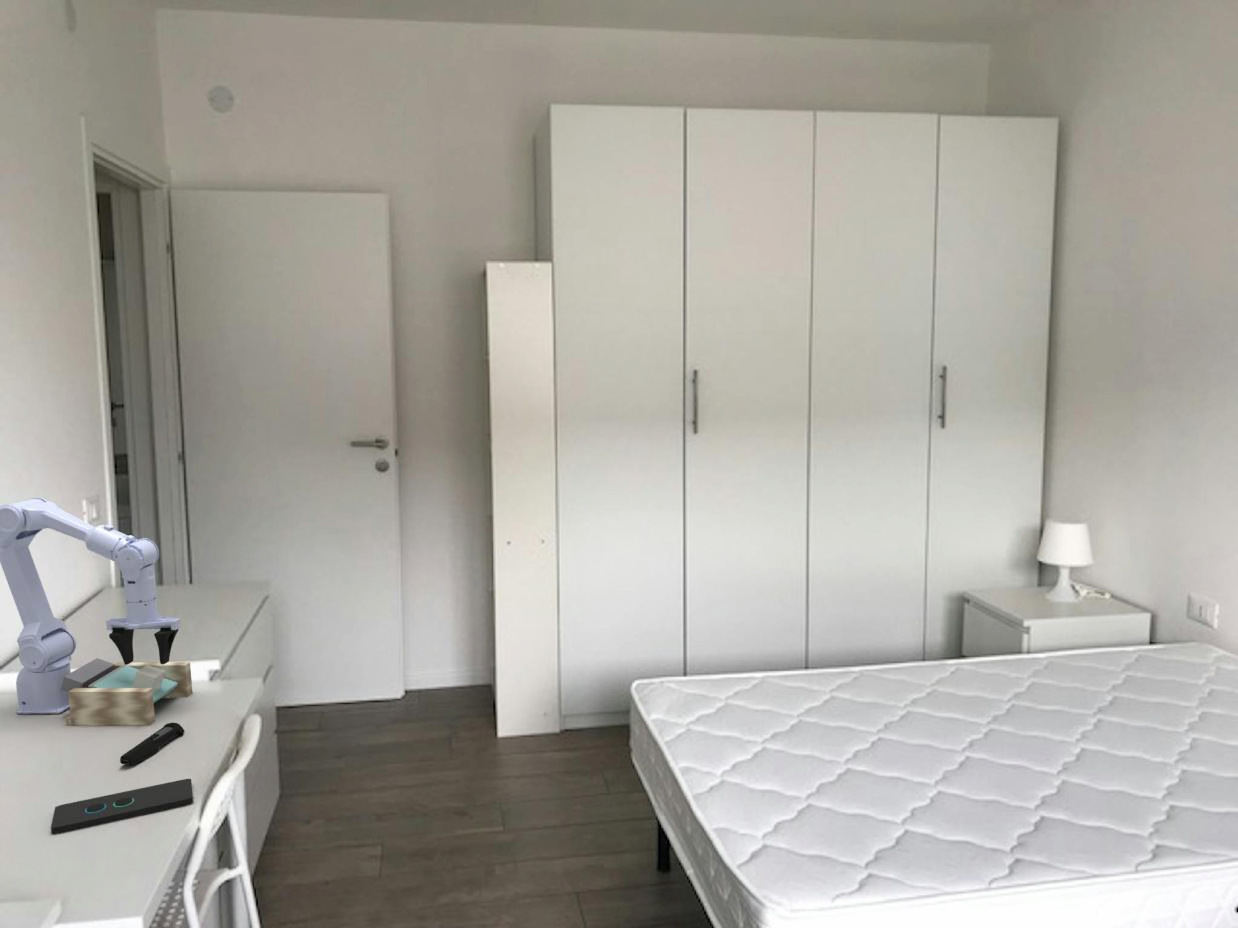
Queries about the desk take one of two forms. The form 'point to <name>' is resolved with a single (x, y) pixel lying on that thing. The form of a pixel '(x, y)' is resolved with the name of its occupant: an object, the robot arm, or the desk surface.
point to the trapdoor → (109, 678)
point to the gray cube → (149, 678)
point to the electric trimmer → (152, 743)
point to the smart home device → (121, 806)
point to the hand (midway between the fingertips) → (146, 662)
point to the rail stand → (125, 698)
